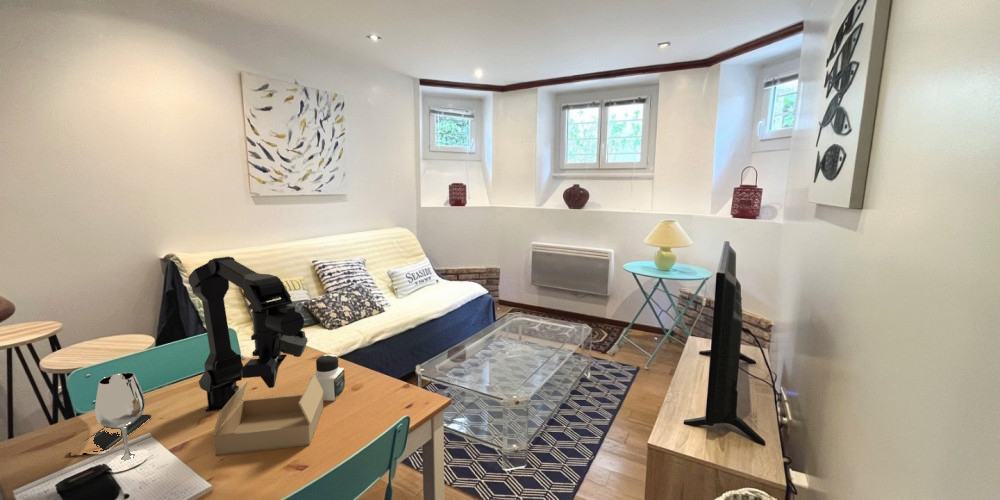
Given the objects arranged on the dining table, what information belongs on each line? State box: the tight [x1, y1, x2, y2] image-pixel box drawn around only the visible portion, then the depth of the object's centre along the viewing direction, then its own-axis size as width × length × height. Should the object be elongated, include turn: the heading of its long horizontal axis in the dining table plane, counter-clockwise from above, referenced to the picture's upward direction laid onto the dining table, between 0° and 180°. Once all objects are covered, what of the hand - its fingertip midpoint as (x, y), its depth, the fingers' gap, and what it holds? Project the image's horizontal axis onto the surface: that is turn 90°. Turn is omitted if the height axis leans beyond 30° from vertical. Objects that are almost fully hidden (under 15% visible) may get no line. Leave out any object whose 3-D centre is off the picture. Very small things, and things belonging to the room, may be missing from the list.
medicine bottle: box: [310, 353, 346, 402], centre depth 116 cm, size 7×7×12 cm
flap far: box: [298, 373, 323, 424], centre depth 100 cm, size 6×15×1 cm
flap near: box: [212, 378, 249, 436], centre depth 96 cm, size 6×15×1 cm
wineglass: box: [94, 371, 146, 461], centre depth 86 cm, size 8×8×20 cm
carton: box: [213, 393, 324, 457], centre depth 99 cm, size 20×16×5 cm
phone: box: [84, 413, 152, 452], centre depth 96 cm, size 8×1×15 cm
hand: (271, 387), depth 98 cm, fingers closed
